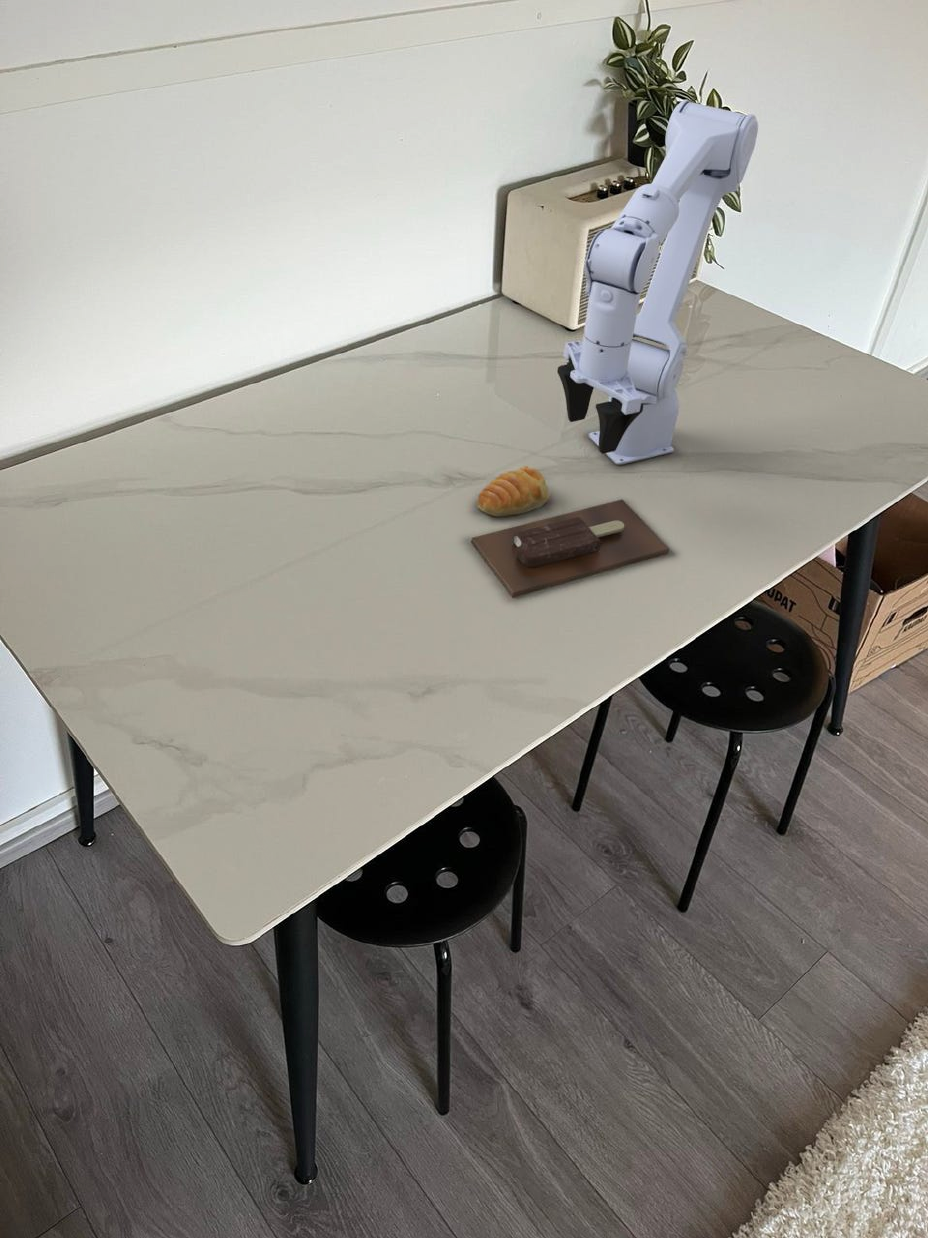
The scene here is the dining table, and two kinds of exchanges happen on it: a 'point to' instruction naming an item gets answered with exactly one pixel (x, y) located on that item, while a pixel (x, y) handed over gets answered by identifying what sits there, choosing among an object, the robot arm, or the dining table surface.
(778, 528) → the dining table surface
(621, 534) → the walnut board
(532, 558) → the ice cream bar
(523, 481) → the pastry
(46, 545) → the dining table surface
